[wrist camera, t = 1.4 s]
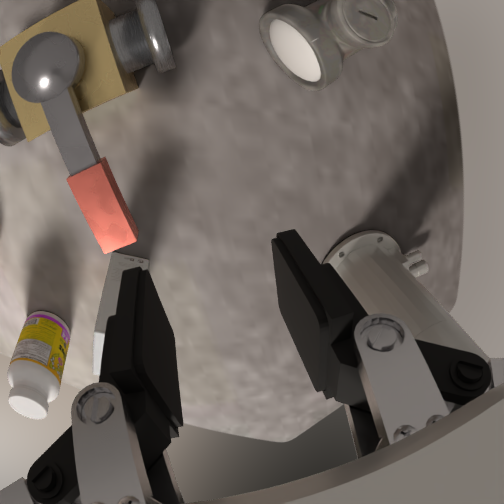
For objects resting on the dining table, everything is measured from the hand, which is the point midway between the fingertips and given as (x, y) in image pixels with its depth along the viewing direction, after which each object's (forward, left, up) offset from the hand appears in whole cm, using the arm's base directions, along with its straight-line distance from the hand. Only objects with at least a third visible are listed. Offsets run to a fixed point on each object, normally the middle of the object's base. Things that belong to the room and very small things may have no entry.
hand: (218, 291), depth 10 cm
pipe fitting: (-15, -8, -23) cm, 28 cm away
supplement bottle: (+26, +14, -22) cm, 37 cm away
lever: (+6, -5, -14) cm, 16 cm away
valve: (+7, -11, -22) cm, 25 cm away
